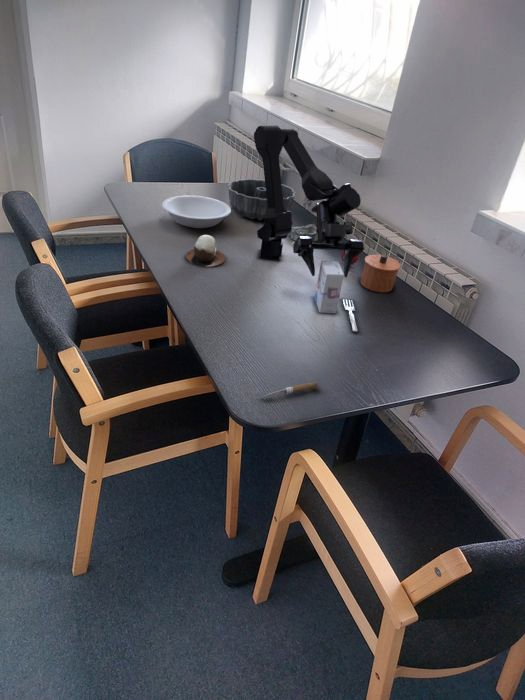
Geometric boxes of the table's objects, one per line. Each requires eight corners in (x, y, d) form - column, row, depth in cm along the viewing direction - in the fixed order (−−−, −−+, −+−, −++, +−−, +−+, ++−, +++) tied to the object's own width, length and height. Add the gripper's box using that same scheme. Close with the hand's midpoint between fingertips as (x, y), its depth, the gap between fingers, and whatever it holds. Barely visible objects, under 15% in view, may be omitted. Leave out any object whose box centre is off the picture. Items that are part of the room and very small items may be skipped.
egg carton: (314, 234, 180) (316, 223, 177) (319, 242, 174) (322, 231, 171) (286, 233, 177) (288, 222, 175) (291, 241, 171) (293, 230, 169)
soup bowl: (241, 232, 172) (243, 214, 168) (180, 240, 160) (181, 221, 156) (209, 210, 188) (210, 193, 184) (151, 215, 175) (150, 197, 171)
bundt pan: (216, 202, 196) (218, 177, 190) (275, 202, 206) (278, 178, 200) (239, 227, 176) (242, 200, 171) (303, 224, 187) (307, 199, 181)
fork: (360, 333, 125) (360, 331, 124) (349, 331, 125) (350, 330, 124) (352, 301, 139) (352, 299, 138) (342, 300, 139) (342, 298, 138)
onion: (355, 270, 157) (361, 247, 152) (338, 267, 157) (343, 244, 153) (356, 263, 162) (362, 241, 157) (339, 260, 162) (344, 238, 158)
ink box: (313, 297, 138) (320, 259, 131) (330, 298, 138) (338, 260, 132) (318, 312, 131) (326, 273, 124) (336, 314, 132) (345, 274, 125)
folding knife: (260, 403, 97) (261, 396, 96) (257, 398, 98) (258, 391, 97) (318, 391, 103) (319, 383, 102) (314, 386, 104) (316, 379, 103)
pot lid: (367, 270, 142) (369, 261, 140) (361, 255, 151) (364, 246, 149) (403, 275, 142) (405, 265, 140) (395, 260, 151) (398, 251, 149)
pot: (362, 290, 146) (368, 268, 142) (358, 275, 154) (363, 254, 150) (395, 294, 146) (402, 272, 142) (389, 279, 154) (395, 258, 150)
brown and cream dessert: (189, 243, 156) (211, 224, 151) (211, 268, 159) (233, 250, 154) (177, 256, 146) (201, 236, 141) (201, 282, 149) (224, 263, 144)
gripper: (302, 206, 124) (304, 264, 121) (370, 211, 127) (374, 267, 125) (291, 225, 135) (293, 278, 132) (355, 229, 138) (358, 281, 135)
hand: (329, 276), depth 131 cm, fingers open, 9 cm apart
